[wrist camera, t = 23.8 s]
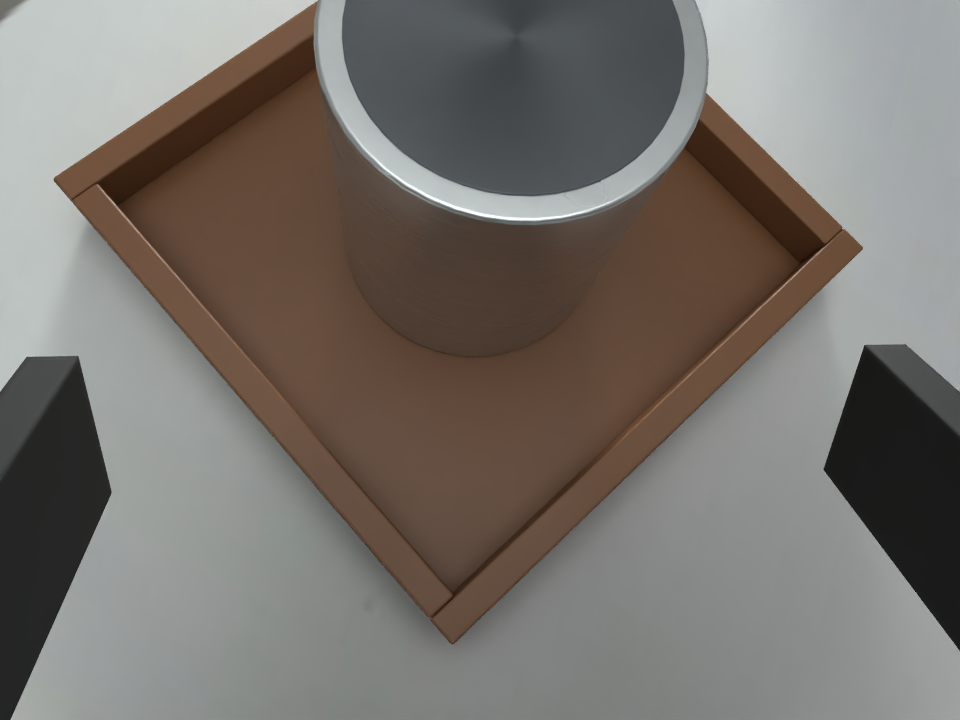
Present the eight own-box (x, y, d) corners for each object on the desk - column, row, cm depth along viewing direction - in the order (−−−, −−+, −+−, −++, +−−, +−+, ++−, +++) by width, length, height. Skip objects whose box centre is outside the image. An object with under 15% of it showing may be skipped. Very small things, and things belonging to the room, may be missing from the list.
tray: (85, 215, 23) (51, 178, 21) (484, -61, 27) (492, -118, 24) (446, 637, 21) (452, 646, 19) (822, 276, 25) (864, 247, 22)
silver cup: (293, 221, 23) (227, 5, 14) (480, 81, 24) (526, -189, 16) (462, 409, 22) (505, 305, 13) (644, 251, 23) (790, 65, 15)
